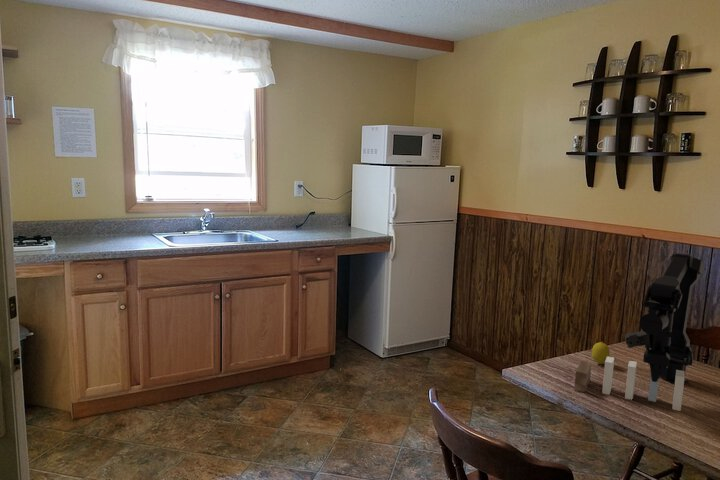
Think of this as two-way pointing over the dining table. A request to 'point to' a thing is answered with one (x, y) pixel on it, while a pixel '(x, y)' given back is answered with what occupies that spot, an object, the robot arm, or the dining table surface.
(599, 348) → the lemon
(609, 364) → the domino
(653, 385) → the blue domino
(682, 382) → the domino
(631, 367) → the domino
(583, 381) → the end block
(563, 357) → the dining table surface
